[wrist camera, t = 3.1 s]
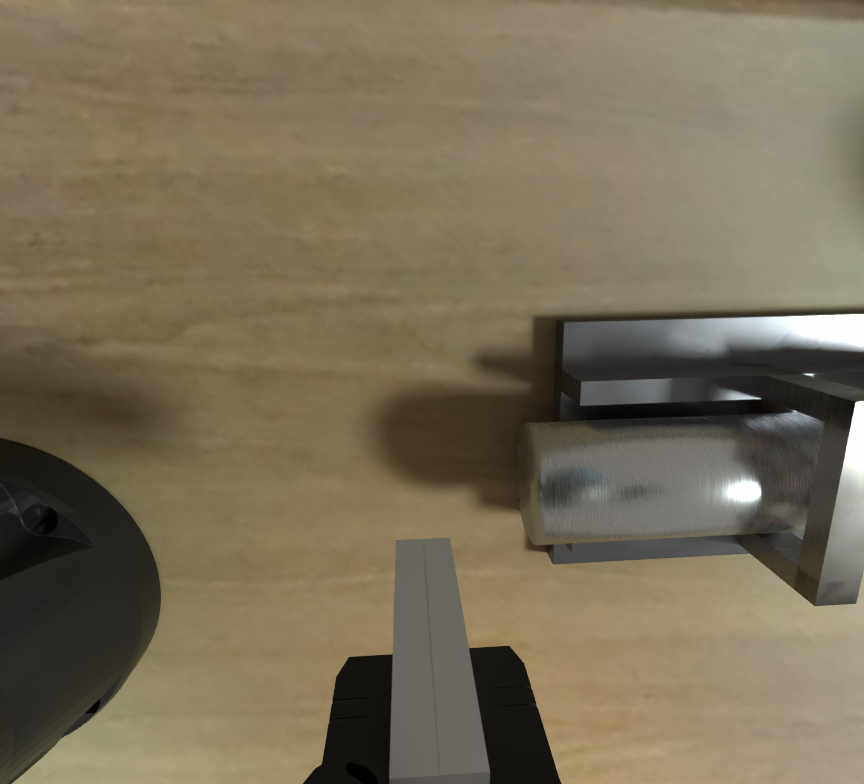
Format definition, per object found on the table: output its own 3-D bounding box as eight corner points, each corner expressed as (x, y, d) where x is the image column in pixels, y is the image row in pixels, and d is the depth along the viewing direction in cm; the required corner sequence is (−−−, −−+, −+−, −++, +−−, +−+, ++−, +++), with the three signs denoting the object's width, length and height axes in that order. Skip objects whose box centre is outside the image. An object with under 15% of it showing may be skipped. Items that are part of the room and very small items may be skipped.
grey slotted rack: (547, 553, 25) (614, 682, 17) (557, 320, 22) (643, 349, 14) (911, 533, 26) (1129, 646, 19) (966, 308, 24) (1255, 330, 16)
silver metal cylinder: (513, 498, 24) (541, 573, 19) (518, 403, 22) (551, 460, 17) (790, 485, 25) (881, 554, 20) (818, 392, 23) (928, 444, 18)
